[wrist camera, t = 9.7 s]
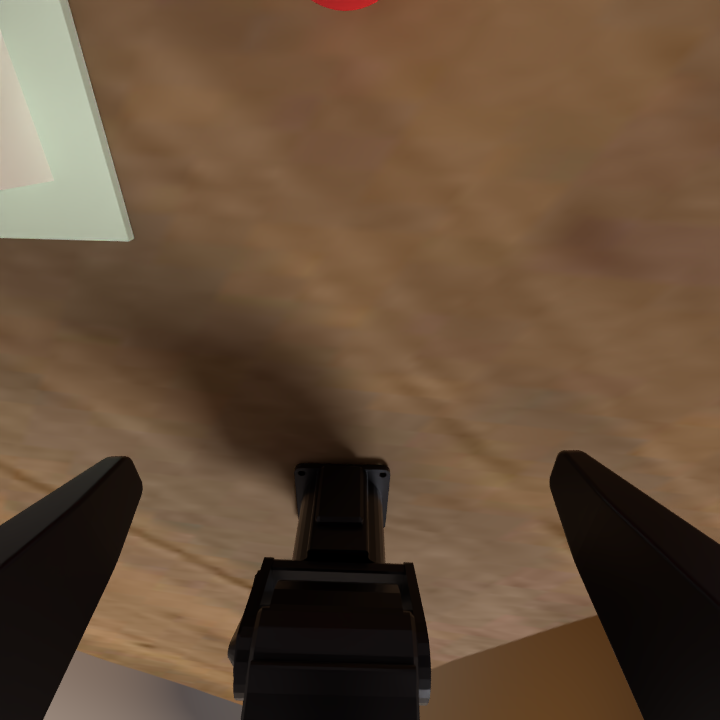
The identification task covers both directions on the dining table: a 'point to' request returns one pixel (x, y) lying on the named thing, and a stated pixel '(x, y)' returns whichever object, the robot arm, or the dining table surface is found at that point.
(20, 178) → the cube
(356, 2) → the beverage can
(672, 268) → the dining table surface
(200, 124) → the dining table surface
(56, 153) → the pad
